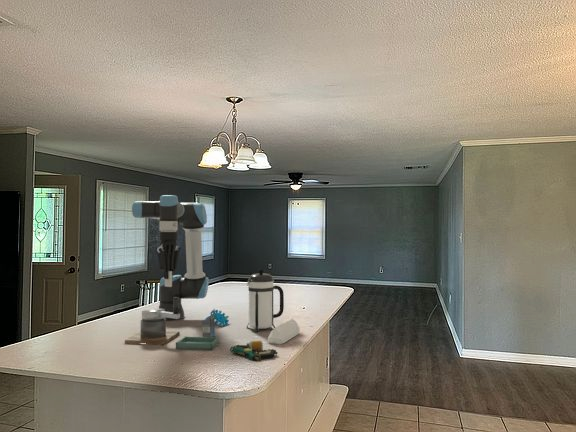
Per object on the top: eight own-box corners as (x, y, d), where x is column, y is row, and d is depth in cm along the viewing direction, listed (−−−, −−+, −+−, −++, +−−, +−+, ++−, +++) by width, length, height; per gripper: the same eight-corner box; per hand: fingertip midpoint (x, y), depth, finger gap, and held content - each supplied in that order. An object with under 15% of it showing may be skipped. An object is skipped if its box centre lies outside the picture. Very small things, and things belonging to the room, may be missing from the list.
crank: (136, 320, 195) (137, 295, 195) (154, 316, 204) (154, 292, 204) (169, 325, 185) (170, 299, 185) (186, 321, 193) (186, 296, 194)
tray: (184, 342, 191) (184, 336, 191) (219, 343, 189) (219, 337, 189) (175, 348, 180) (175, 342, 181) (212, 350, 179) (212, 344, 179)
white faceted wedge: (285, 337, 185) (304, 325, 207) (271, 327, 187) (292, 317, 209) (277, 351, 186) (297, 338, 208) (264, 341, 188) (285, 329, 210)
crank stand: (143, 333, 207) (143, 315, 207) (179, 334, 204) (179, 316, 205) (124, 343, 189) (124, 323, 189) (164, 344, 187) (164, 325, 187)
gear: (218, 325, 217) (210, 309, 222) (211, 332, 219) (203, 316, 224) (233, 324, 226) (225, 308, 231) (227, 331, 228) (219, 315, 233)
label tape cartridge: (206, 334, 204) (206, 308, 204) (214, 334, 204) (214, 308, 204) (202, 339, 195) (202, 312, 196) (210, 339, 195) (210, 312, 195)
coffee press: (271, 334, 205) (271, 270, 206) (240, 331, 211) (240, 269, 211) (284, 326, 221) (284, 267, 222) (255, 323, 227) (255, 266, 228)
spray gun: (280, 360, 169) (244, 367, 161) (261, 347, 183) (228, 353, 176) (280, 349, 169) (244, 356, 161) (261, 337, 183) (228, 342, 176)
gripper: (164, 231, 178) (163, 289, 178) (185, 231, 190) (185, 285, 189) (150, 231, 182) (150, 287, 181) (172, 231, 193) (172, 284, 193)
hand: (168, 286), depth 185 cm, fingers closed
